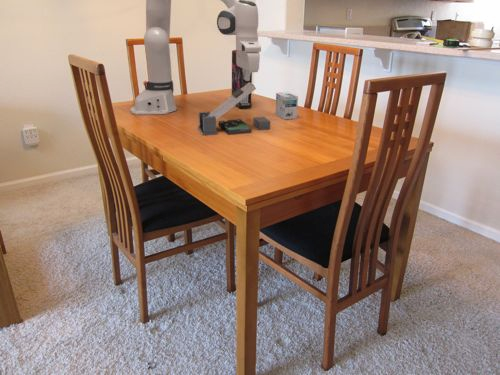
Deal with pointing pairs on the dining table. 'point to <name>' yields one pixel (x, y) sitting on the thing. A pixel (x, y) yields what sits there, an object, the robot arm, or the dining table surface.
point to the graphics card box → (239, 82)
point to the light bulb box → (286, 105)
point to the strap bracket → (209, 123)
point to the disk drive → (235, 127)
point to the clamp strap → (232, 100)
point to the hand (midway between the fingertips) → (246, 80)
